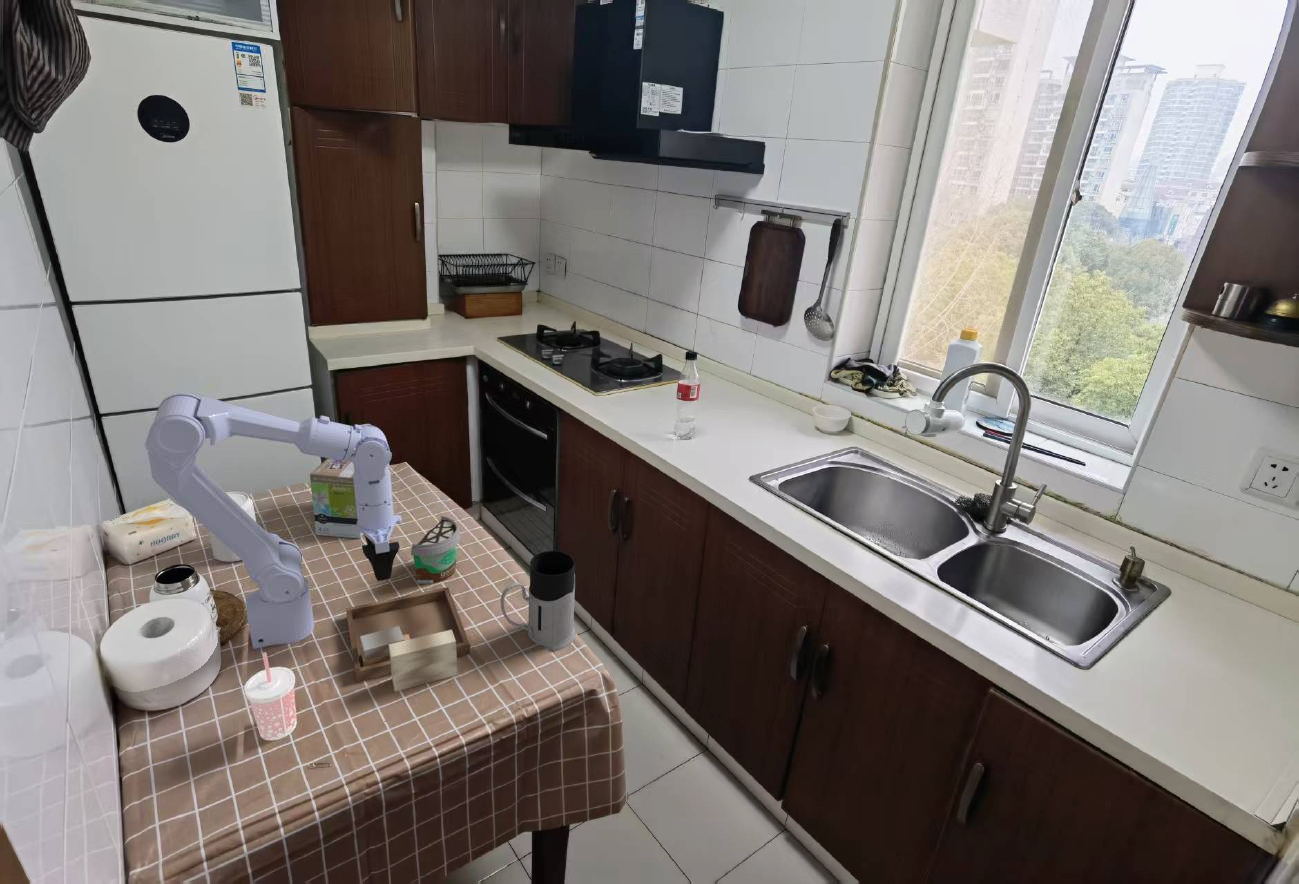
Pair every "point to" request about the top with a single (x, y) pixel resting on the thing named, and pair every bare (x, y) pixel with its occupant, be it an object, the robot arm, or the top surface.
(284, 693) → the beverage cup
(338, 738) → the top surface
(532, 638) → the grey mug
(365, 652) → the offcut upper
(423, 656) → the cream chamfered post
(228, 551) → the beverage can
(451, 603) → the crate
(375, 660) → the offcut lower
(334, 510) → the tea box
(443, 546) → the food container
